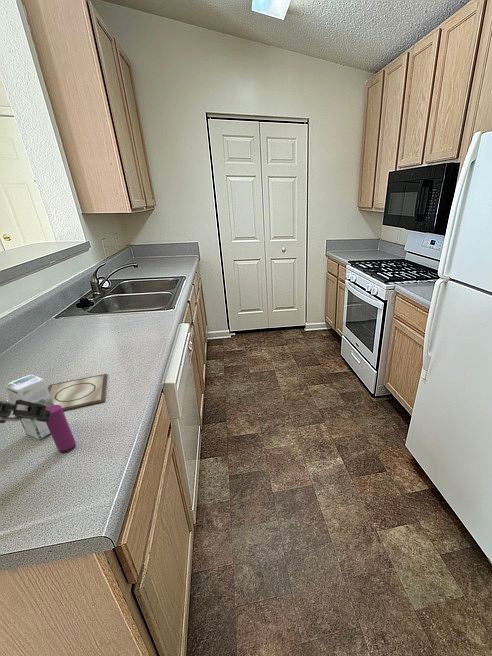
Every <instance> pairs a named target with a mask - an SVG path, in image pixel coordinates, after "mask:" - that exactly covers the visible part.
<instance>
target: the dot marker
mask: <svg viewBox="0 0 492 656" xmlns="http://www.w3.org/2000/svg"><path fill="white" fill-rule="evenodd" d="M46 410H48V411H50V412H51V416H50V420H49V421H48V422H46V424H47V426H48V428H49V431H50V433H51V434H50V435H51V438H52V440H53V442H54V444H55V447H56V449H57V450H58V451H59V452H60V453H63V454H65V453H69V452H71V451H73V450H74V449H75V448H76V446H77V445H76V439H75V438H74V435H73V432H72V430H71V427H70V425H69V422H68V420H67V417H66V415H65V413H64V412H65V411H63V410H62V407H61V406H60V405H51V406H48V407H46Z"/></svg>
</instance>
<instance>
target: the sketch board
mask: <svg viewBox="0 0 492 656" xmlns="http://www.w3.org/2000/svg"><path fill="white" fill-rule="evenodd" d="M107 384H108V373H103V374H98V375H93V376H86V377H82V378H77V379H73V380H66V381H62V382H58V383H57V382H56V383H52V384H49V385H48V387H47V389H48V391H49V394H50V396H51V399H52V401H53V404H54V405H60V406H61V407H62V410H63V412H67V411H71V410H75V409H79V408H86V407H89V406H94V405H97V404H102V403H106V396H107V395H106V394H107V386H108V385H107Z"/></svg>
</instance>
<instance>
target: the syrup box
mask: <svg viewBox="0 0 492 656" xmlns="http://www.w3.org/2000/svg"><path fill="white" fill-rule="evenodd" d="M3 386H4V389H5V391H6V394H7V395H8V397H9V400H10V401H16V400H23V401H28V402H32V403H36V404H40V405H44V406H46V407H48V406H51V405H54V404H53V401H52V399H51V396H50V394H49V391H48V387H47V383H46V381H45V379H43V378H41V377H39V376H37V375H35V374H28V375H25V376H22V377H20V378H18V379H15V380H13V381H10V382H8V383H5V384H3ZM19 421H20V424H21V425H22V428H23V430H24V433H25V434H27V435H28V436H31V437H32V438H35V439H37V440H39V441H40V440H42V439H44V438H46V437H48V436H49V435H51V433H50V431H49V428H48V426H47V424H46V422H41V421H35V420H34V421H31V420H26V419H21V420H19Z"/></svg>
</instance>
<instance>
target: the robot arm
mask: <svg viewBox="0 0 492 656" xmlns="http://www.w3.org/2000/svg"><path fill="white" fill-rule="evenodd" d="M11 414H12V415H13V416H14V417H12V416H11ZM50 416H51V412H50V411H48V410H46V406H44V405H40V404H36V403H32V402H28V401H23V400H16V401H11V400H10V399H6V398H4V397H0V424H5V423H6V422H19V421H20V420H21V419H26V420H31V421H34V420H35V421H41V422H48V421H49V420H50Z"/></svg>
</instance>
